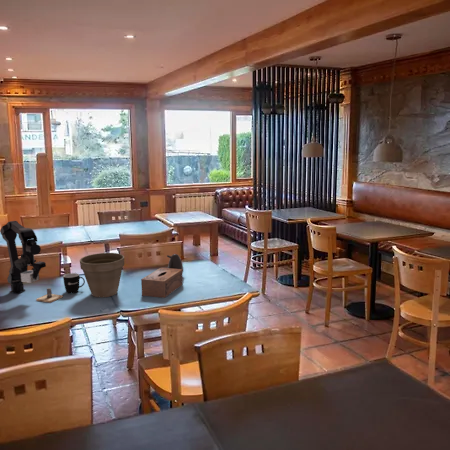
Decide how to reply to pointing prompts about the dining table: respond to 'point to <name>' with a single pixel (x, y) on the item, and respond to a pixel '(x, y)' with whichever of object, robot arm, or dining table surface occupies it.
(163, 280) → the tissue box cover
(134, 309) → the dining table surface
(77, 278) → the mug
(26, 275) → the collar
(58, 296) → the shaft block
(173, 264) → the pump dispenser
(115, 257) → the plant pot
